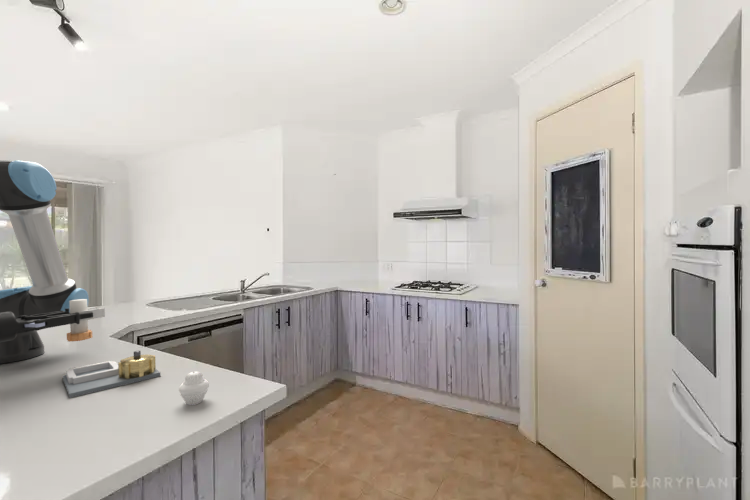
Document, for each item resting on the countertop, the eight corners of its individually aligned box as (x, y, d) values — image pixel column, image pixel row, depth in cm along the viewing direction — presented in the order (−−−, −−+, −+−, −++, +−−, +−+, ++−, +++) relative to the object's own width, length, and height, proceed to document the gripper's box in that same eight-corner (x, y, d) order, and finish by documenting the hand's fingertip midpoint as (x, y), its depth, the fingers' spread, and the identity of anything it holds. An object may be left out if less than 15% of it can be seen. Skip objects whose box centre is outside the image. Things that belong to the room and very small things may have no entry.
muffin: (173, 408, 78) (172, 376, 77) (189, 396, 84) (188, 366, 84) (200, 408, 77) (199, 376, 77) (214, 396, 83) (214, 366, 83)
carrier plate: (62, 379, 97) (62, 370, 97) (143, 362, 110) (143, 354, 110) (69, 397, 84) (69, 387, 84) (160, 375, 98) (160, 366, 98)
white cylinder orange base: (66, 338, 105) (64, 300, 104) (90, 335, 109) (89, 297, 108) (68, 342, 101) (66, 302, 100) (93, 338, 105) (92, 299, 104)
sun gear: (115, 373, 97) (115, 352, 97) (151, 366, 103) (150, 345, 103) (122, 381, 91) (121, 358, 91) (159, 372, 97) (158, 351, 97)
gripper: (-19, 339, 93) (87, 321, 113) (4, 348, 85) (114, 326, 105) (-20, 311, 93) (86, 297, 113) (2, 317, 85) (113, 301, 105)
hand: (100, 311), depth 109 cm, fingers closed on white cylinder orange base, 4 cm apart
